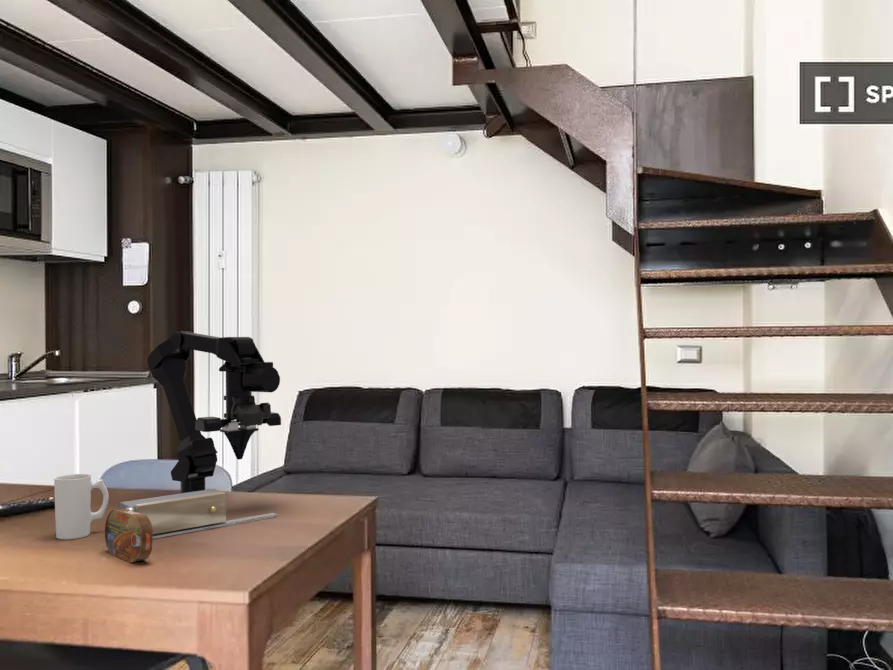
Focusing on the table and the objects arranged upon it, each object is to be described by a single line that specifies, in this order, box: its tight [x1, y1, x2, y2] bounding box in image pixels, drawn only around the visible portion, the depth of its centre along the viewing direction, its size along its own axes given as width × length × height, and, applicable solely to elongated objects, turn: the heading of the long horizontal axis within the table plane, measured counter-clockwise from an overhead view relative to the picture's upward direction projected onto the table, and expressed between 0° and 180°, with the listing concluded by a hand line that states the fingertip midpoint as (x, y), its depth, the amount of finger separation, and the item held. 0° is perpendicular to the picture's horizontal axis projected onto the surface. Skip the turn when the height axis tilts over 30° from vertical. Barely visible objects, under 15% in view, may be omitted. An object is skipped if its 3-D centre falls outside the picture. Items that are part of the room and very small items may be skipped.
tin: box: [104, 509, 154, 564], centre depth 139 cm, size 15×3×8 cm, turn 47°
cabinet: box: [119, 488, 226, 512], centre depth 159 cm, size 6×20×6 cm, turn 130°
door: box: [135, 491, 227, 534], centre depth 155 cm, size 3×18×6 cm, turn 130°
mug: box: [53, 473, 110, 541], centre depth 155 cm, size 10×7×12 cm, turn 119°
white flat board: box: [126, 507, 278, 540], centre depth 159 cm, size 2×32×7 cm, turn 130°
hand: (239, 459), depth 174 cm, fingers closed
